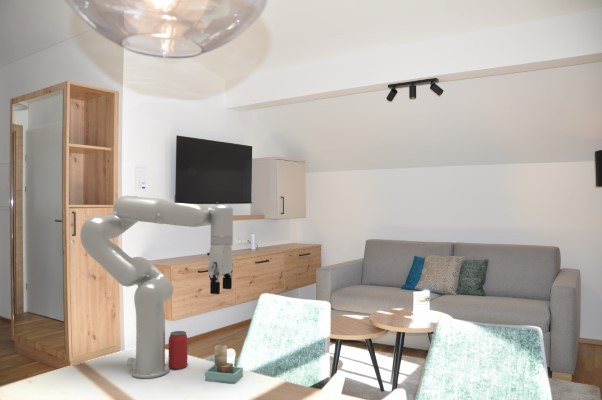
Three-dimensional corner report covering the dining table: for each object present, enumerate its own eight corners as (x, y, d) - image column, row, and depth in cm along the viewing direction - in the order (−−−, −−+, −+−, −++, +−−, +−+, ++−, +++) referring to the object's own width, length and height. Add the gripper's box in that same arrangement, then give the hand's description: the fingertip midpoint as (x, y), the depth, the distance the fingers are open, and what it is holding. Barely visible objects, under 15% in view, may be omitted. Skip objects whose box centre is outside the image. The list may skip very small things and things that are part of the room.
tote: (204, 380, 160) (204, 371, 160) (214, 373, 167) (214, 364, 167) (234, 383, 157) (234, 374, 157) (242, 376, 164) (242, 367, 164)
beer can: (182, 370, 170) (182, 335, 170) (165, 369, 171) (165, 334, 171) (190, 364, 176) (190, 331, 176) (173, 363, 178) (173, 330, 178)
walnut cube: (227, 379, 159) (216, 378, 161) (232, 375, 163) (221, 374, 164) (228, 367, 160) (216, 366, 161) (232, 363, 163) (221, 362, 164)
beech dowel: (212, 365, 161) (212, 347, 161) (217, 361, 165) (217, 344, 165) (223, 366, 160) (223, 348, 160) (228, 362, 164) (228, 345, 164)
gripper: (222, 239, 176) (221, 286, 176) (199, 242, 159) (199, 295, 159) (241, 239, 174) (241, 287, 174) (221, 243, 157) (220, 296, 157)
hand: (221, 291), depth 166 cm, fingers open, 9 cm apart
